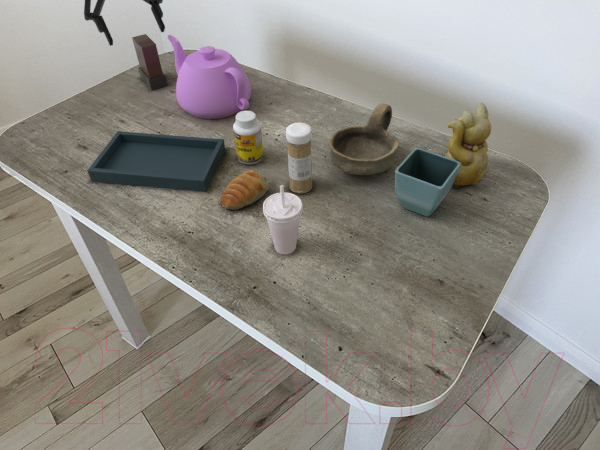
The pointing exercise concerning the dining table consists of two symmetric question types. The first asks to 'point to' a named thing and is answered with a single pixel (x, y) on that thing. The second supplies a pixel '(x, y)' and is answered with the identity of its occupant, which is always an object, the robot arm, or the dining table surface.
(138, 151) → the tray
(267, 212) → the smoothie
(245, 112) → the supplement bottle
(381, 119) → the bowl
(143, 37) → the eraser
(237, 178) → the pastry
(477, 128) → the decorative figurine
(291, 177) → the spice jar
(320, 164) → the dining table surface
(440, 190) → the flower pot
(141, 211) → the dining table surface
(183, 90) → the teapot
